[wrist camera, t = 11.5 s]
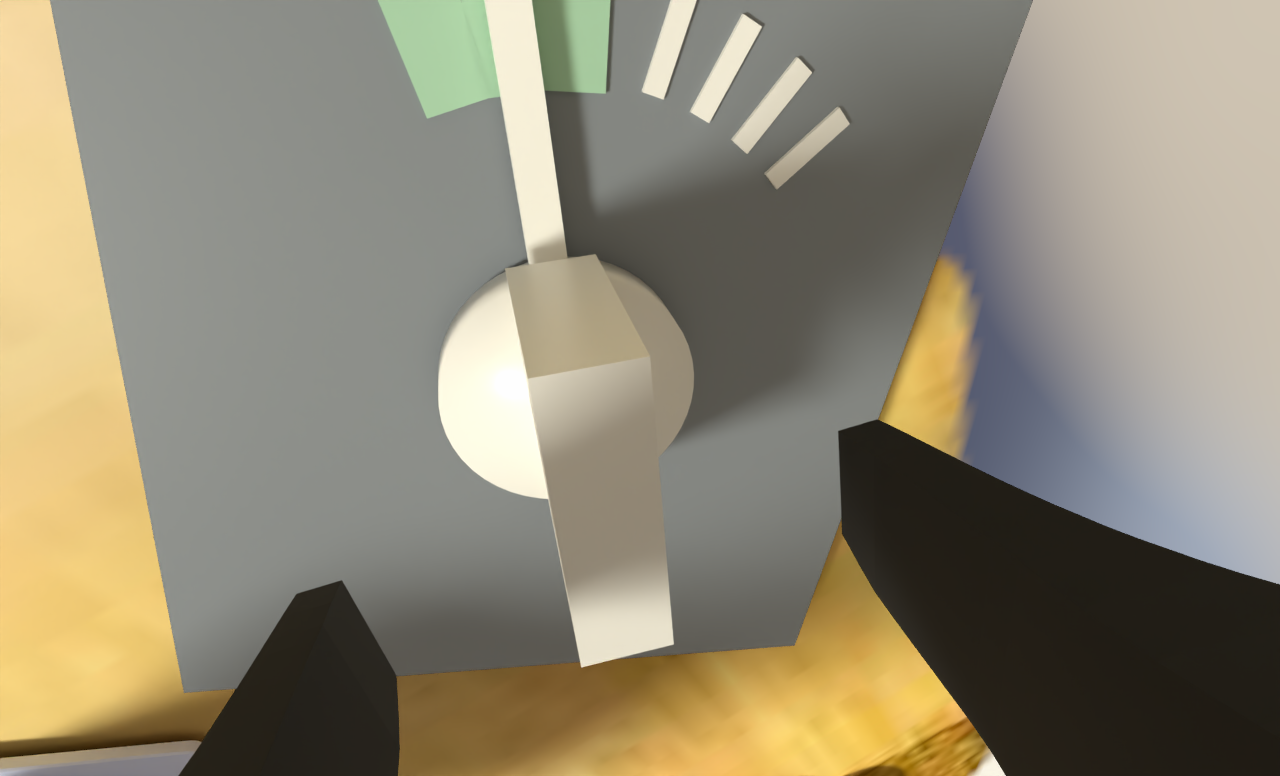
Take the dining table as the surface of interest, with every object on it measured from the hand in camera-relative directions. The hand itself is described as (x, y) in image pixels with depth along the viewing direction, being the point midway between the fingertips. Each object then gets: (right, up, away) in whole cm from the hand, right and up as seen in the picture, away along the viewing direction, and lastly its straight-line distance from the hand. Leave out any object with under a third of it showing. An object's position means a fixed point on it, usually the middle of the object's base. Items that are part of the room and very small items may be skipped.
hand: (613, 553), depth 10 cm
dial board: (-2, +3, +6) cm, 7 cm away
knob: (-1, +5, +3) cm, 6 cm away
